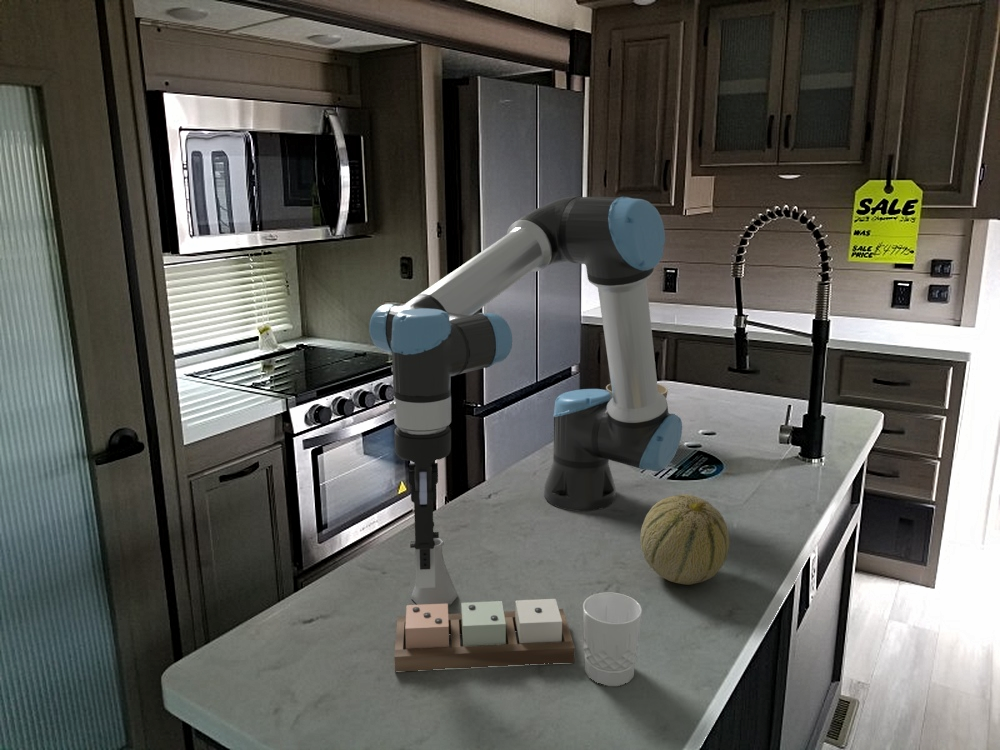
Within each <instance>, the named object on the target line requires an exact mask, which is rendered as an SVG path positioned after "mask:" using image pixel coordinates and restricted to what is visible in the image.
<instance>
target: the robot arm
mask: <svg viewBox="0 0 1000 750" xmlns="http://www.w3.org/2000/svg"><path fill="white" fill-rule="evenodd" d="M665 244H666V233H665V227H664V222H663V220H662V217H661V214H660V212H659V211H658V209H657V208H656V206H655V205H653V204H652V203H651V202H650V201H648V200H646V199H642V198H632V197H630V196H620V197H619V196H618V197H617V196H615V197H613V196H610V197H609V196H600V197H599V196H567V197H562V198H560V199H559V198H558V199H556V200H553V201H550V202H548V203H546V204H544V205H542V206H540V207H538V208H535V209H534V210H532V211H530V212H528V213H527V214H525V215H523V216H521V217H520V218H519V219H517V220H515V222H513V223H511V225H510V226H508V229H507V231H506V235H504V236H502V237H501V238H500V239H498V240H497V241H495V242H494V243H492V244H491V245H489V246H488V247H486V248H485V249H484V250H482V251H481V252H479V253H478V254H477V255H475V256H473V257H472V258H470V259H469V260H467V261H466V262H465V263H463V264H462V265H461V266H459V267H458V268H456V269H454V270H453V271H452V272H450V273H448V274H446V275H445V276H444V277H443V278H441V279H440V280H437V282H435V283H433V284H432V285H431V286H429V287H428V288H427V289H425V290H423V291H422V292H420V293H419V294H418V295H416V296H414V297H413V298H412V299H410V300H408V301H407V302H405V303H403V304H401V303H398V302H394V303H385V304H382V305H380V306H379V307H377V309H376V310H375V311H374V312H372V315H371V317H370V321H369V326H368V329H369V330H368V333H369V336H370V339H371V342H372V343H373V345H374V346H375V347H376V348H377V349H379V350H381V351H382V352H385V353H389V354H391V362H392V363H391V364H392V385H393V401H392V402H391V401H390V403H389V405H388V407H389V409H390V410H394V413H393V416H394V418H393V419H394V421H393V422H394V424H395V425H396V427H395V428H394V430H393V431H394V433H393V434H394V452H395V455H396V456H397V457H398V458H399V459H401V460H403V461H410V462H411V463H409V464H408V483H409V485H410V501H411V502H412V503H413V506H414V507H413V508H414V509H413V510H414V541H413V540H412V541H410V544H409V548H410V549H414V564H415V566H414V567H415V568H414V569H415V573H414V574H415V585H416V588H435V540H433V538H440V536H439V535H440V534H439V531H434V527H435V522H434V503H435V502H436V501H437V484H438V483H439V465H438V464H439V463H438V462H435V461H437V460H438V461H439V460H442V459H444V458H446V457H448V456H449V455H450V453H451V451H452V428H451V427H450V426H449V425H450V424H451V423H452V393H451V392H452V391H451V377H455V376H457V375H461V374H465V373H470V372H472V371H476V370H481V369H488V368H491V367H492V366H493V365H496V364H498V363H501V362H503V361H504V360H506V359H507V358H508V356H509V355H510V353H511V351H512V348H513V333H512V329H511V327H510V325H509V324H508V322H507V320H506V319H504V317H502V316H501V315H499V314H497V313H494V312H487V313H485V312H484V313H483V312H478V311H480V310H481V309H482V308H484V307H485V306H487V304H490V302H492V301H493V300H494V299H496V298H497V297H499V296H500V295H502V293H503V292H505V291H506V290H508V289H509V288H510V287H512V286H513V285H514V284H516V283H517V282H519V281H520V280H521V279H523V278H524V277H525V276H527V275H528V274H529V273H531V272H539V271H540V272H541V271H543V270H544V269H545V268H547V267H548V266H550V265H553V264H558V263H570V264H571V263H573V264H581V265H585V268H586V269H585V270H586V276H587V280H588V282H589V283H590V284H591V285H593V286H594V287H596V288H597V291H598V298H599V306H600V314H601V320H602V321H601V322H602V327H603V334H604V335H603V336H604V341H605V343H604V344H605V348H606V349H605V350H606V355H607V363H608V364H607V365H608V371H609V378H610V384H611V386H612V394H613V398H612V396H611V393H610V392H608V391H607V390H606V389H600V388H583V389H575V390H570V391H566V392H563V393H561V394H560V395H559V396H557V397H556V399H555V401H554V408H553V414H552V416H553V446H552V447H553V448H552V449H553V450H552V451H553V454H552V455H553V457H552V464H551V467H550V469H549V472H548V475H547V477H546V480H545V482H544V487H543V488H544V490H543V491H544V493H543V494H544V495H543V497H544V499H545V500H546V501H547V503H549V504H551V505H553V506H555V507H558V508H560V509H565V510H568V511H576V512H579V511H580V512H583V511H584V512H587V511H588V512H590V511H598V510H602V509H606V508H608V507H610V506H611V505H612V504H614V503H615V501H616V493H617V489H616V483H615V481H614V478H613V474H612V471H611V467H610V465H609V464H610V463H609V462H610V461H613V462H616V463H618V464H619V463H620V464H623V465H627V466H630V467H633V468H638V469H640V470H642V471H643V470H647V471H651V472H660V471H662V470H665V469H666V468H667V467H668V466H669V465H670V463H671V462H672V461H673V459H674V458H675V455H676V453H677V451H678V448H679V447H680V446H679V445H680V443H681V439H682V434H683V422H682V418H681V417H680V416H678V415H677V414H676V413H669V407H668V405H669V404H668V400H667V397H666V398H665V397H664V396H663V395H662V394H661V393H659V392H658V386H657V384H658V378H657V369H656V361H655V360H656V359H655V349H654V340H653V331H652V321H651V314H650V313H651V311H650V304H649V303H650V302H649V294H648V293H649V291H648V286H647V285H648V282H647V280H649V279H650V277H652V275H653V274H654V273H655V267H657V266H658V264H659V263H660V262H661V260H662V257H663V255H664V250H665V249H664V246H665ZM477 312H478V313H477ZM475 313H476V314H475Z"/></svg>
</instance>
